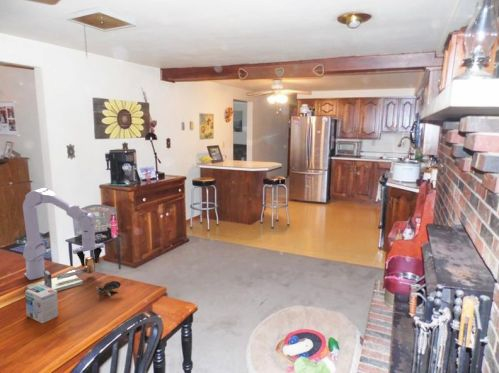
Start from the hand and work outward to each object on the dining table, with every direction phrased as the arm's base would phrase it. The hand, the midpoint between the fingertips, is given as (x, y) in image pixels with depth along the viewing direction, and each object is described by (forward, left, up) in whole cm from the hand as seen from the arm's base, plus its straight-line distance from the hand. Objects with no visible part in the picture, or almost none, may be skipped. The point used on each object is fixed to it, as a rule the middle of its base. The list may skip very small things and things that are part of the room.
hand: (89, 264), depth 169 cm
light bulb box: (+24, -28, -7) cm, 37 cm away
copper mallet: (0, -6, -4) cm, 8 cm away
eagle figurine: (+25, -2, -7) cm, 26 cm away
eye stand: (0, -16, -7) cm, 17 cm away
